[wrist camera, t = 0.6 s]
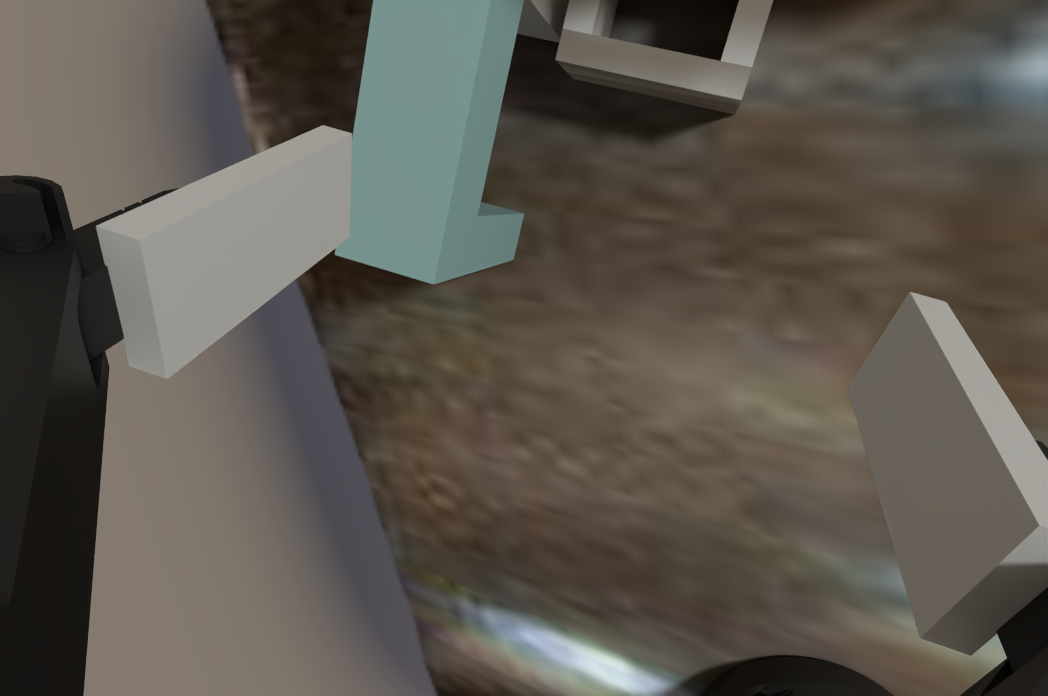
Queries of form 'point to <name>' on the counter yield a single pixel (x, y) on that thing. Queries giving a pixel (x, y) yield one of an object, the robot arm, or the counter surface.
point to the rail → (435, 134)
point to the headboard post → (661, 57)
